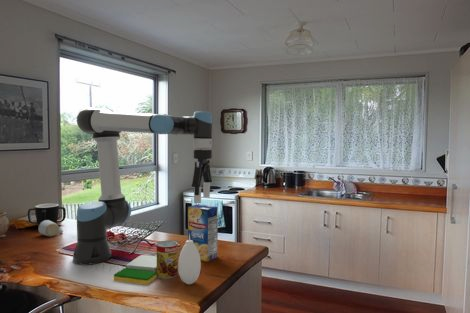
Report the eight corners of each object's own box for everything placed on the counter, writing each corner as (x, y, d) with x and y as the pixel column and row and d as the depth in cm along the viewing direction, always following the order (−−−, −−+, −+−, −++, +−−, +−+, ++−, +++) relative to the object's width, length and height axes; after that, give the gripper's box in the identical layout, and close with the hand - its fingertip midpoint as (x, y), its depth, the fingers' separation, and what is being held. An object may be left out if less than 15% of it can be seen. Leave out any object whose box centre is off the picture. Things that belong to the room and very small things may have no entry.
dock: (126, 272, 135) (126, 265, 135) (141, 262, 147) (140, 254, 147) (155, 275, 133) (155, 267, 132) (168, 264, 144) (168, 257, 144)
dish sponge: (147, 285, 125) (147, 279, 124) (113, 281, 128) (113, 274, 128) (157, 278, 131) (157, 271, 131) (124, 273, 135) (124, 267, 135)
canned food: (171, 280, 129) (170, 247, 128) (152, 276, 131) (152, 245, 131) (181, 272, 136) (181, 241, 135) (163, 269, 139) (163, 239, 138)
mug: (54, 221, 217) (53, 201, 216) (68, 225, 207) (68, 204, 207) (25, 226, 203) (25, 205, 203) (39, 230, 194) (39, 209, 193)
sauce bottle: (174, 285, 123) (174, 235, 123) (185, 277, 131) (185, 229, 130) (194, 289, 121) (194, 237, 120) (204, 280, 128) (204, 231, 127)
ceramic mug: (46, 238, 180) (46, 223, 179) (38, 235, 184) (38, 221, 184) (66, 234, 188) (66, 220, 188) (58, 231, 193) (58, 217, 193)
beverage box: (207, 261, 148) (207, 209, 146) (187, 256, 154) (187, 206, 153) (217, 257, 153) (217, 207, 152) (198, 252, 159) (198, 204, 158)
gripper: (203, 150, 133) (202, 206, 134) (218, 148, 157) (217, 195, 159) (184, 149, 134) (183, 205, 136) (202, 148, 159) (201, 194, 160)
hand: (202, 200), depth 147 cm, fingers open, 13 cm apart
